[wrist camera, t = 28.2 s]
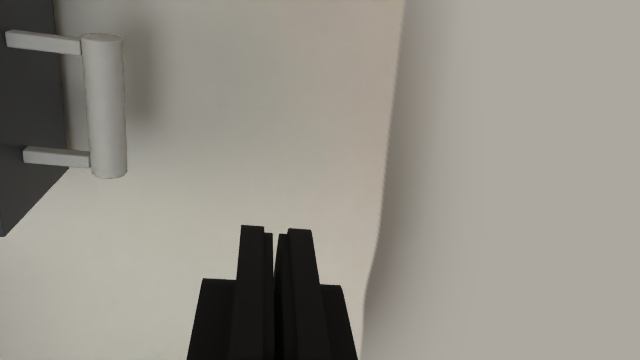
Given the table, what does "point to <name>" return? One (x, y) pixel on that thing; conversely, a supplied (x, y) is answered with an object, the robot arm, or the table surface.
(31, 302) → the table surface
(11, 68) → the drawer
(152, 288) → the table surface
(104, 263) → the table surface
